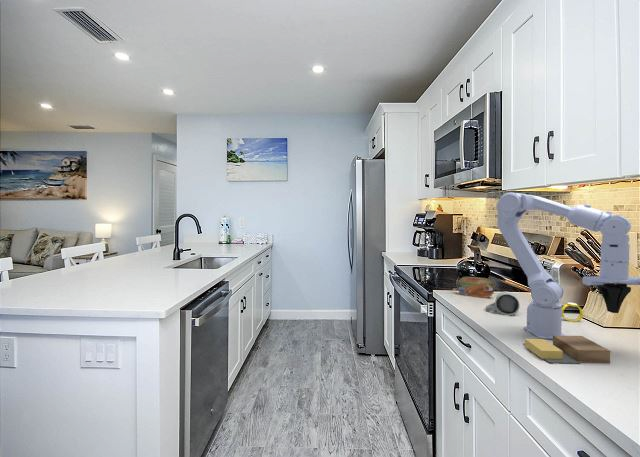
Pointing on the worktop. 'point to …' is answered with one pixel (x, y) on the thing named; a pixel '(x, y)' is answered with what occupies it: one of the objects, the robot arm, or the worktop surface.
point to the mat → (562, 360)
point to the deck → (582, 349)
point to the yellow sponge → (543, 349)
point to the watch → (573, 306)
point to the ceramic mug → (505, 304)
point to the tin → (475, 287)
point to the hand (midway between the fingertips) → (612, 312)
